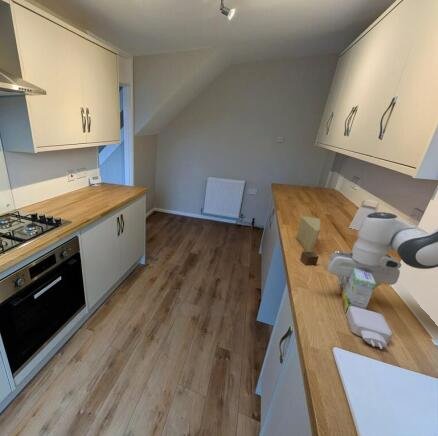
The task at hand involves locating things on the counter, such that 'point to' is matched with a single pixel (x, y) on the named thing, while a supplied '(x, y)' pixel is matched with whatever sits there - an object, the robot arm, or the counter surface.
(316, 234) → the cheese
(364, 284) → the snack box
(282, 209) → the counter surface
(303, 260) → the walnut block
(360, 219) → the grater
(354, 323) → the charger
